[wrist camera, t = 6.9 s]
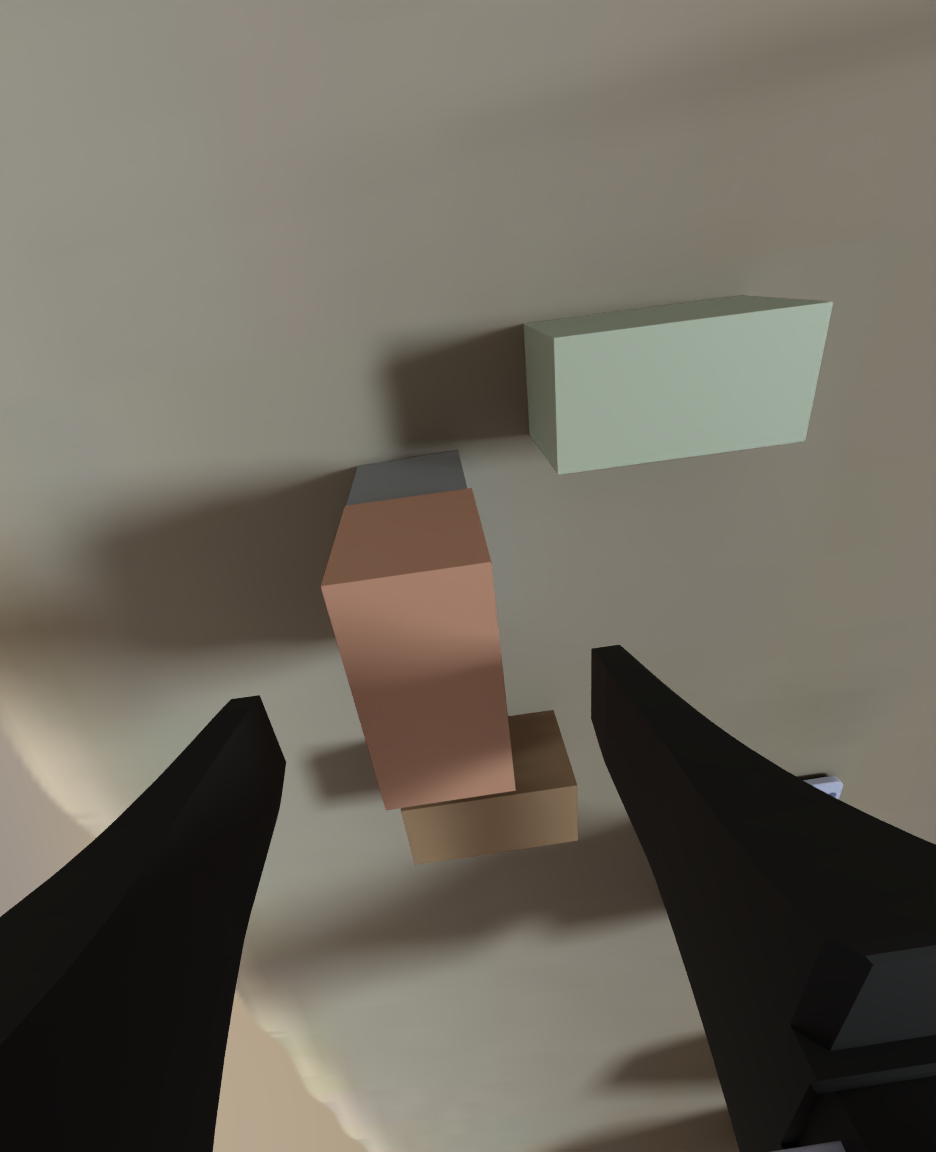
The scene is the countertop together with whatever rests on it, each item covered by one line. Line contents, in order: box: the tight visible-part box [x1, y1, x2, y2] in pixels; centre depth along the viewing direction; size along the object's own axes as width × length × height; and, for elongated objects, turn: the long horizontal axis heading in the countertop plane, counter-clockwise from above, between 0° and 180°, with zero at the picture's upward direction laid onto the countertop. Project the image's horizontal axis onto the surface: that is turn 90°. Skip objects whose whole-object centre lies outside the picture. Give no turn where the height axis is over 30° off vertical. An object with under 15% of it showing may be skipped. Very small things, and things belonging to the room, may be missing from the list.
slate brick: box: [346, 450, 467, 506], centre depth 17 cm, size 6×3×4 cm, turn 8°
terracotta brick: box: [321, 488, 516, 810], centre depth 13 cm, size 6×3×4 cm, turn 7°
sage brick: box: [524, 295, 833, 475], centre depth 15 cm, size 6×3×4 cm, turn 96°
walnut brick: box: [401, 710, 578, 865], centre depth 22 cm, size 6×3×4 cm, turn 96°
